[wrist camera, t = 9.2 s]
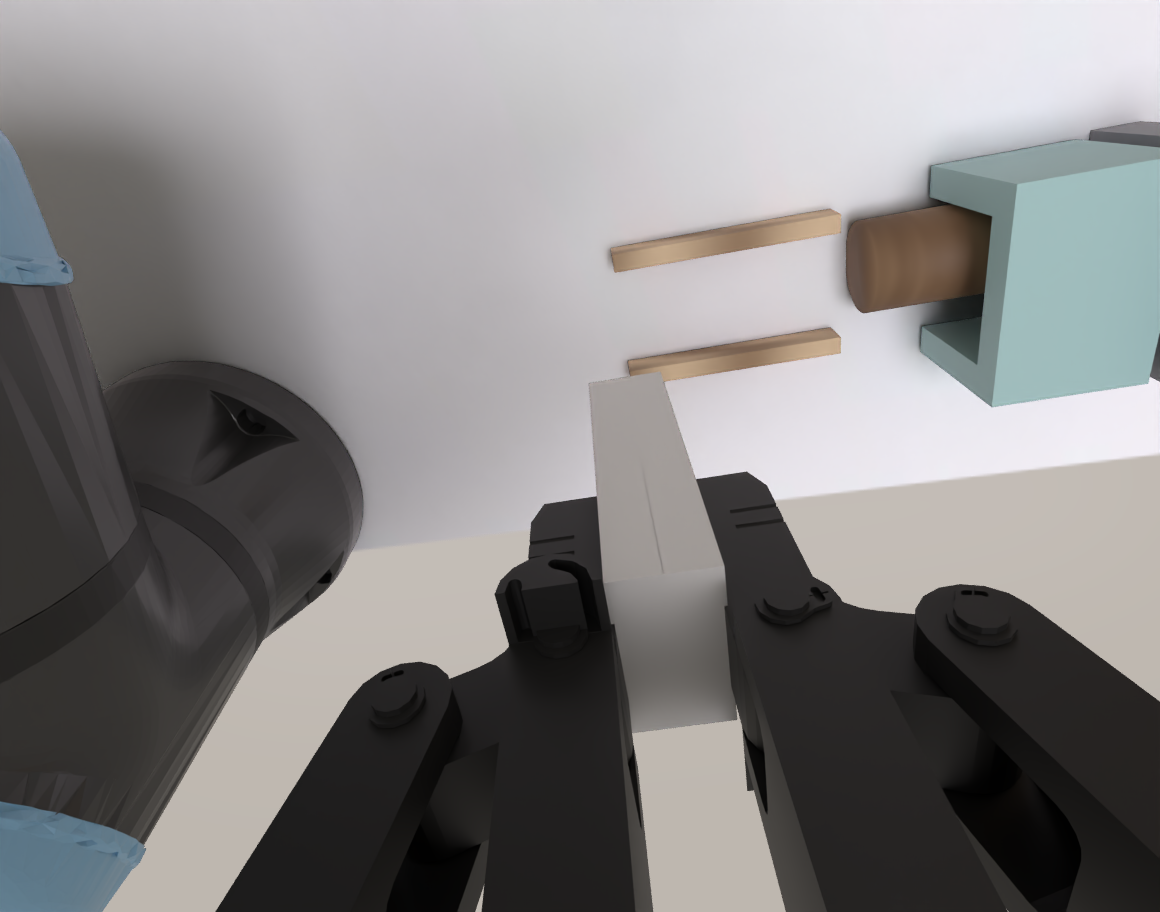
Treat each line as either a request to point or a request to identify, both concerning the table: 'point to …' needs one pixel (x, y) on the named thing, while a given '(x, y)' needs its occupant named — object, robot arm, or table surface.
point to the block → (1057, 271)
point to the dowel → (917, 257)
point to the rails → (721, 243)
